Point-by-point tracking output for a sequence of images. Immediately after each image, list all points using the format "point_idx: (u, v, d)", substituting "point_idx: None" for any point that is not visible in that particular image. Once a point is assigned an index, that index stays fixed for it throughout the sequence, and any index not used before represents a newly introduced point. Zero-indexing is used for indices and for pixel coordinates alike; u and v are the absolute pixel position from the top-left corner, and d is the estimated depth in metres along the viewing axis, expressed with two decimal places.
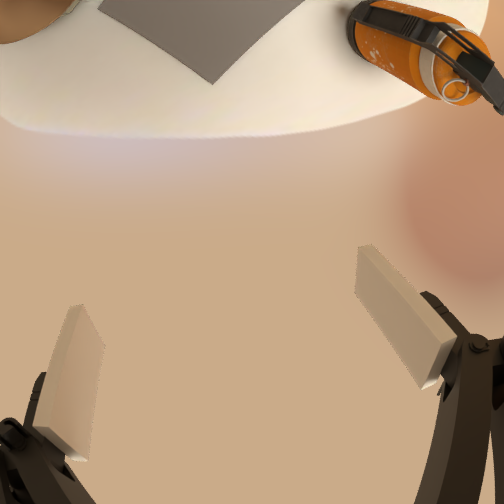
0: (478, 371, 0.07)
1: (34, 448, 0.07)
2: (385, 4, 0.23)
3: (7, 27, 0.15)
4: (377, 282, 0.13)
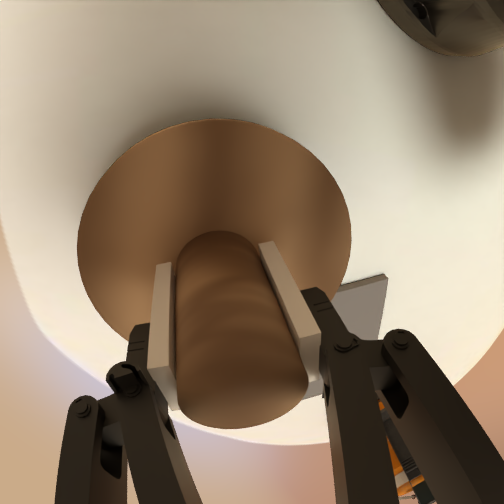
0: (351, 371, 0.09)
1: (148, 399, 0.09)
2: None
3: None
4: (268, 276, 0.14)
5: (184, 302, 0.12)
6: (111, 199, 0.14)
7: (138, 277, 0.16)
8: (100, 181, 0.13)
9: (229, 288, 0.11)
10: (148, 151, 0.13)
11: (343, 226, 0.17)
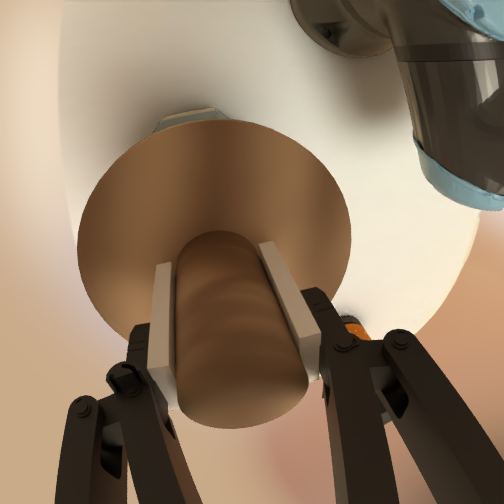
0: (351, 371, 0.09)
1: (148, 399, 0.09)
2: (355, 332, 0.49)
3: None
4: (268, 276, 0.14)
5: (184, 302, 0.12)
6: (111, 199, 0.14)
7: (138, 277, 0.16)
8: (100, 181, 0.13)
9: (229, 288, 0.11)
10: (147, 151, 0.13)
11: (343, 226, 0.17)
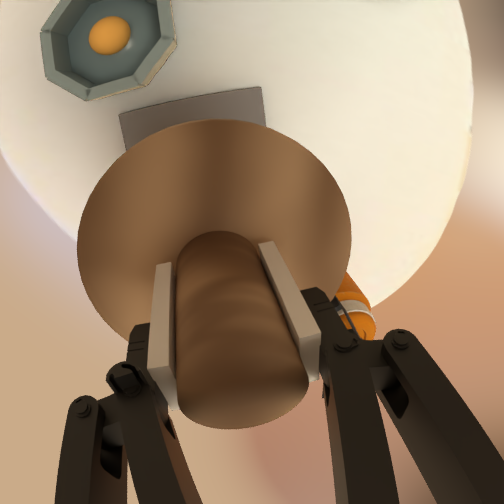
0: (351, 371, 0.09)
1: (148, 399, 0.09)
2: None
3: None
4: (269, 276, 0.14)
5: (184, 302, 0.12)
6: (111, 200, 0.14)
7: (138, 277, 0.16)
8: (100, 181, 0.13)
9: (229, 288, 0.11)
10: (147, 151, 0.13)
11: (343, 226, 0.17)
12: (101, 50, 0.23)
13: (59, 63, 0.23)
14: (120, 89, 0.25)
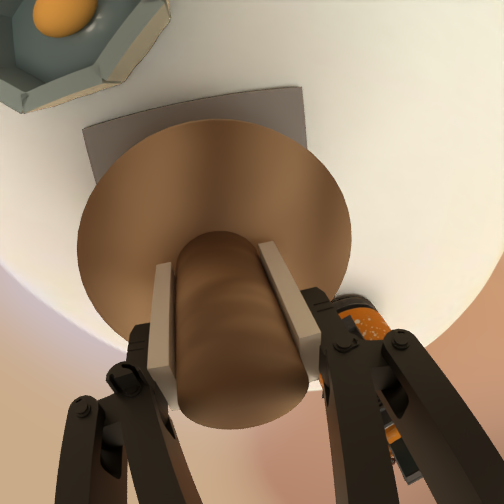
0: (351, 371, 0.09)
1: (148, 399, 0.09)
2: (369, 322, 0.28)
3: None
4: (268, 276, 0.14)
5: (184, 303, 0.12)
6: (111, 200, 0.14)
7: (138, 277, 0.16)
8: (100, 181, 0.13)
9: (229, 288, 0.11)
10: (147, 151, 0.13)
11: (343, 226, 0.17)
12: (49, 29, 0.12)
13: None
14: (73, 90, 0.13)
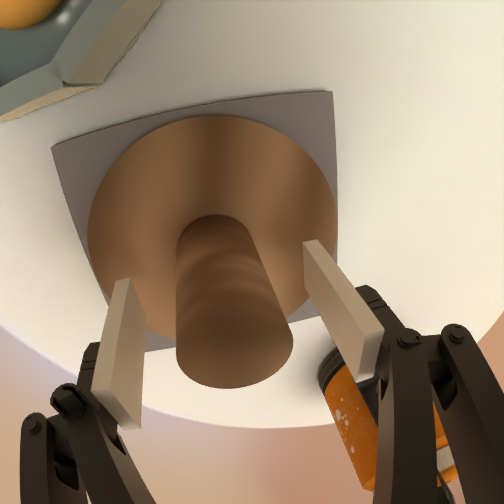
0: (411, 366, 0.08)
1: (91, 418, 0.08)
2: None
3: (144, 304, 0.19)
4: (317, 275, 0.14)
5: (184, 273, 0.13)
6: (120, 186, 0.15)
7: (142, 257, 0.18)
8: (110, 169, 0.15)
9: (223, 259, 0.13)
10: (153, 143, 0.15)
11: (329, 211, 0.18)
12: (2, 20, 0.07)
13: None
14: (25, 100, 0.09)
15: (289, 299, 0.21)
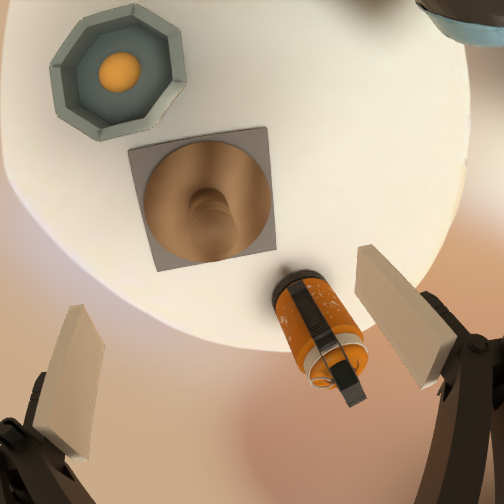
0: (478, 371, 0.07)
1: (34, 448, 0.07)
2: (318, 287, 0.42)
3: (170, 235, 0.37)
4: (377, 282, 0.13)
5: (194, 208, 0.32)
6: (164, 172, 0.34)
7: (171, 209, 0.36)
8: (160, 164, 0.33)
9: (211, 201, 0.31)
10: (181, 153, 0.33)
11: (265, 188, 0.37)
12: (112, 88, 0.26)
13: (69, 98, 0.25)
14: (132, 132, 0.27)
15: (247, 236, 0.39)
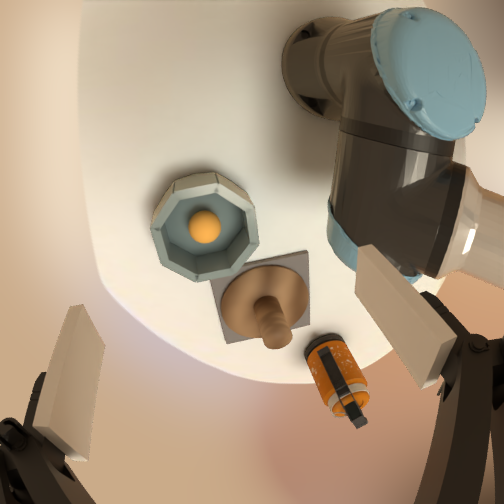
0: (478, 371, 0.07)
1: (34, 448, 0.07)
2: (337, 348, 0.58)
3: (238, 324, 0.54)
4: (377, 282, 0.13)
5: (262, 317, 0.48)
6: (236, 288, 0.50)
7: (241, 309, 0.52)
8: (234, 283, 0.49)
9: (273, 314, 0.48)
10: (249, 276, 0.49)
11: (305, 292, 0.53)
12: (201, 242, 0.42)
13: (167, 248, 0.41)
14: (221, 276, 0.43)
15: (291, 320, 0.56)
